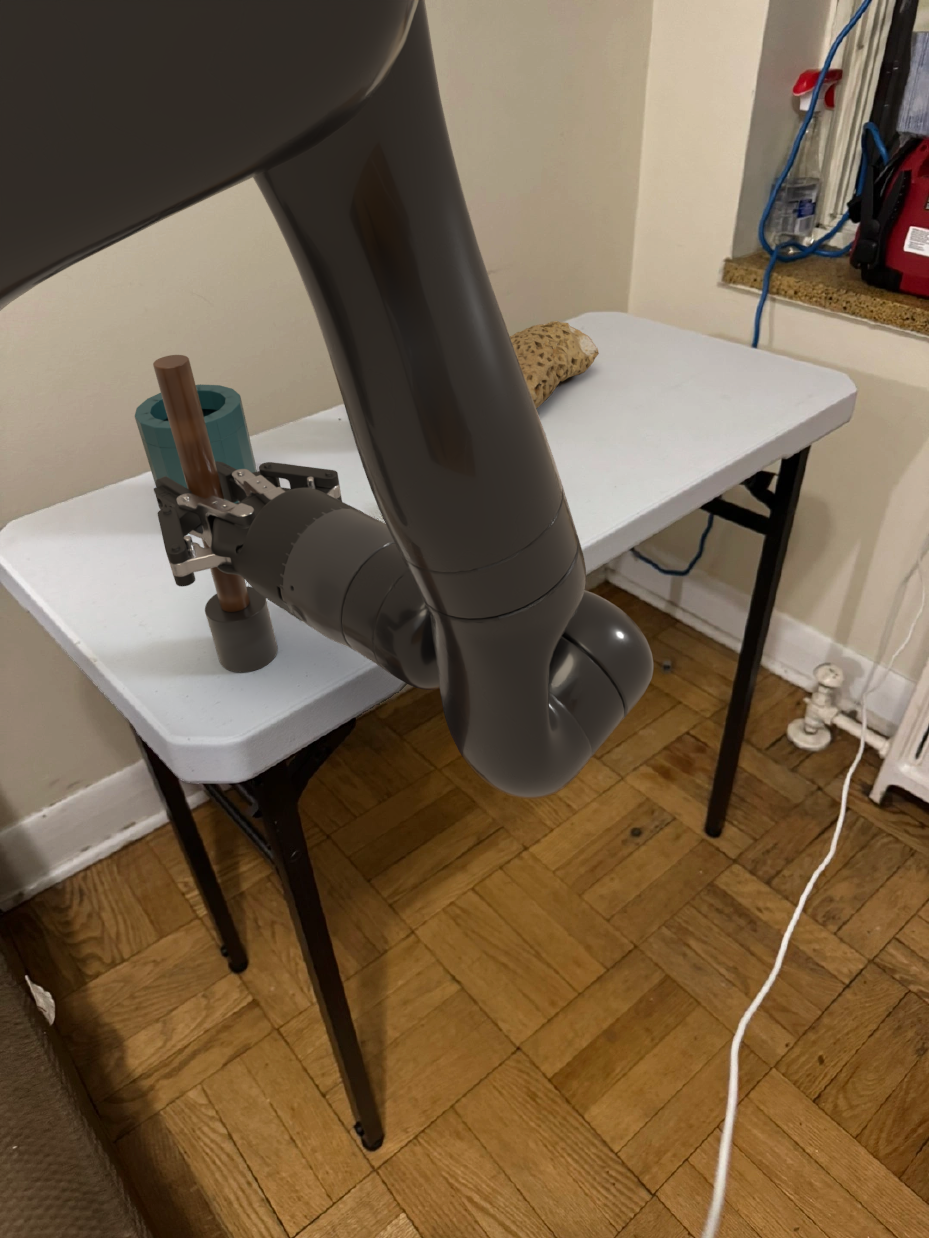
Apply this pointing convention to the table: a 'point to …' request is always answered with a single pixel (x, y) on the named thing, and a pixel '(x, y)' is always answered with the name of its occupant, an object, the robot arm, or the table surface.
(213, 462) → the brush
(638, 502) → the table surface
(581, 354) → the sponge
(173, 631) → the table surface
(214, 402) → the jar
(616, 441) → the table surface
